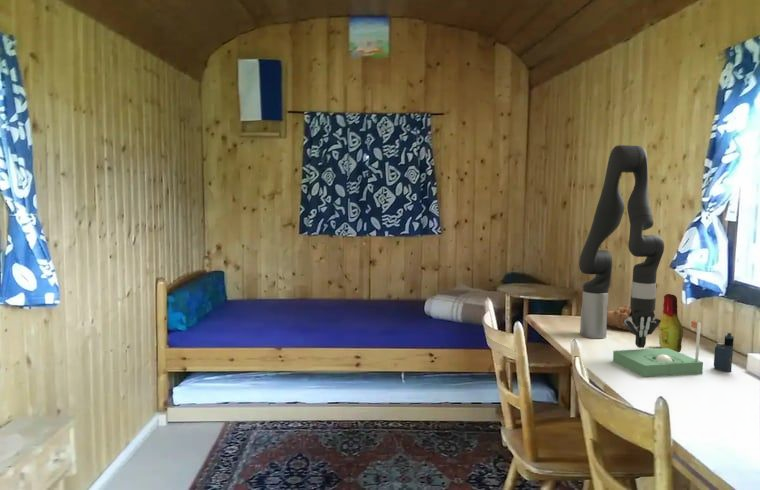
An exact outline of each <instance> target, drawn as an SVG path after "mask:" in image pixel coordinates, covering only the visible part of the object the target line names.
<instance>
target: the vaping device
mask: <svg viewBox="0 0 760 490" xmlns="http://www.w3.org/2000/svg"><path fill="white" fill-rule="evenodd" d="M734 338H735V337H734V336H733V335H732V333H731V332H727V335H726V334H725V335H724V341H723V342H716V345H715V347H714V358H713V367H714V369H715V370H719V371H722V372H727V373H731V372H732V367H733V354H734Z"/></svg>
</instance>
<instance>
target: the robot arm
mask: <svg viewBox="0 0 760 490" xmlns="http://www.w3.org/2000/svg"><path fill="white" fill-rule="evenodd" d="M648 163H649V162H648V154H647V151H646V149H645V148H644V147H643V146H642V145H630V144H629V145H625V144H621V145H619V144H618V145H615V146H614V147H613V148H612V150H611V151H610V154H609V157H608V162H607V166H606V171H605V176H604V182H603V186H602V189H601V192H600V196H599V199H598V203H597V206H596V209H595V213H594V216H593V220H592V224H591V226H590V230H589V233H588V236H587V238H586V240H585V243H584V246H583V248H582V251H581V253H580V256H579V261H578V265H579V266H578V267H579V270H580V272H581V273H582V274H585V275H595V276H594V277H593V278H592V279H591V280H589V281H587V282H585V283H583V284H582V298H581V299H582V303H581V310H580V329H579V334H580V336H582V337H585V338H588V339H589V338H590V339H606V338H607V330H608V329H607V328H608V325H607V313H608V310H609V309H608V307H609V292H610V291H609V289H610V286H611V282H612V281H611V279H612V270H613V257H612V253H610V251H608V250H606V249H600V248H601V245H602V244H603V243H604V242H605V240H606V239H607V238H609V237H610V236H611V235H612V234H613V233H614V232H615V231H616V230H617V228H618V227H619V226H620V224H621V223H622V220H623V215H624V212H625V209H626V207H625V206H626V205H625V201H624V199H623V196H622V193H621V191H620V190H621V189H620V187H619V185H620V179H621V177H622V176H621V175H622V173H628V174H629V173H632V174H633V177H634V186H633V188H632V191H631V193H630V196H629V198H628V201H627V213H628V221H629V225H630V226H629V235H628V236H629V237H628V244H627V247H628V250H629V252H630V254H631V255H632V256H633V257H635V258H636V257H637V258H644V257H645V260H643V262H640V263H636V264H635V265H633V267H632V269H633V270H632V282H631V289H630V301H629V302H630V305H629V306H630V308H631V312H630V314H629V318H627V319H624V320H623V323H624V324H625V326H626V327H627V329H628V330H627V331H628V332H629V333H630V334H632V335H635V342H634V343H635V345H636V347H637V348H640V349H645V346H646V343H647V341H646V340H647V337H648V336H649V335H652V334H653V333H654V331H655V330H656V329H657V327H658V326H659V324H660V322H661V319H658V318H657V317H656V315H655V314H656V313H655V310H656V303H657V301H656V299H657V271H658V268H659V265H660V262H661V259H662V257H663V254H664V252H665V242H664V240H663V238H662V237H661V236H659V235H657V234H655V235H654V234H653V235H652V234H649V235H648V234H647V235H645V234H644V235H643V231H647V230H649V229H651V228H652V227H653V226H654V218H653V214H652V213H653V212H652V209H651V203H650V195H649V194H650V193H649V192H650V191H649V164H648ZM632 322H633V323H634V326H633V325H632V324H633V323H632Z"/></svg>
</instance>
